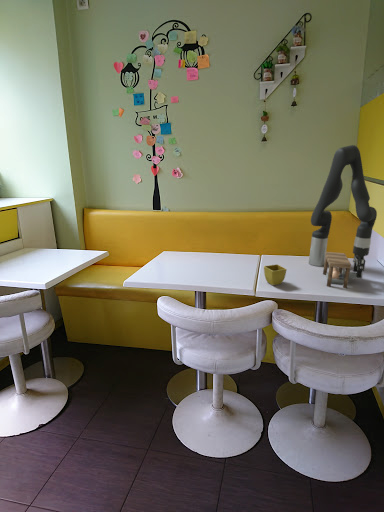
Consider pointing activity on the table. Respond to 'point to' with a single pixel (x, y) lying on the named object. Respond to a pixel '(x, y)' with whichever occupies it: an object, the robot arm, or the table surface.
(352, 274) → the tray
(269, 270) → the flower pot
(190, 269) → the table surface
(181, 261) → the table surface
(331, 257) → the slatted wooden stool
